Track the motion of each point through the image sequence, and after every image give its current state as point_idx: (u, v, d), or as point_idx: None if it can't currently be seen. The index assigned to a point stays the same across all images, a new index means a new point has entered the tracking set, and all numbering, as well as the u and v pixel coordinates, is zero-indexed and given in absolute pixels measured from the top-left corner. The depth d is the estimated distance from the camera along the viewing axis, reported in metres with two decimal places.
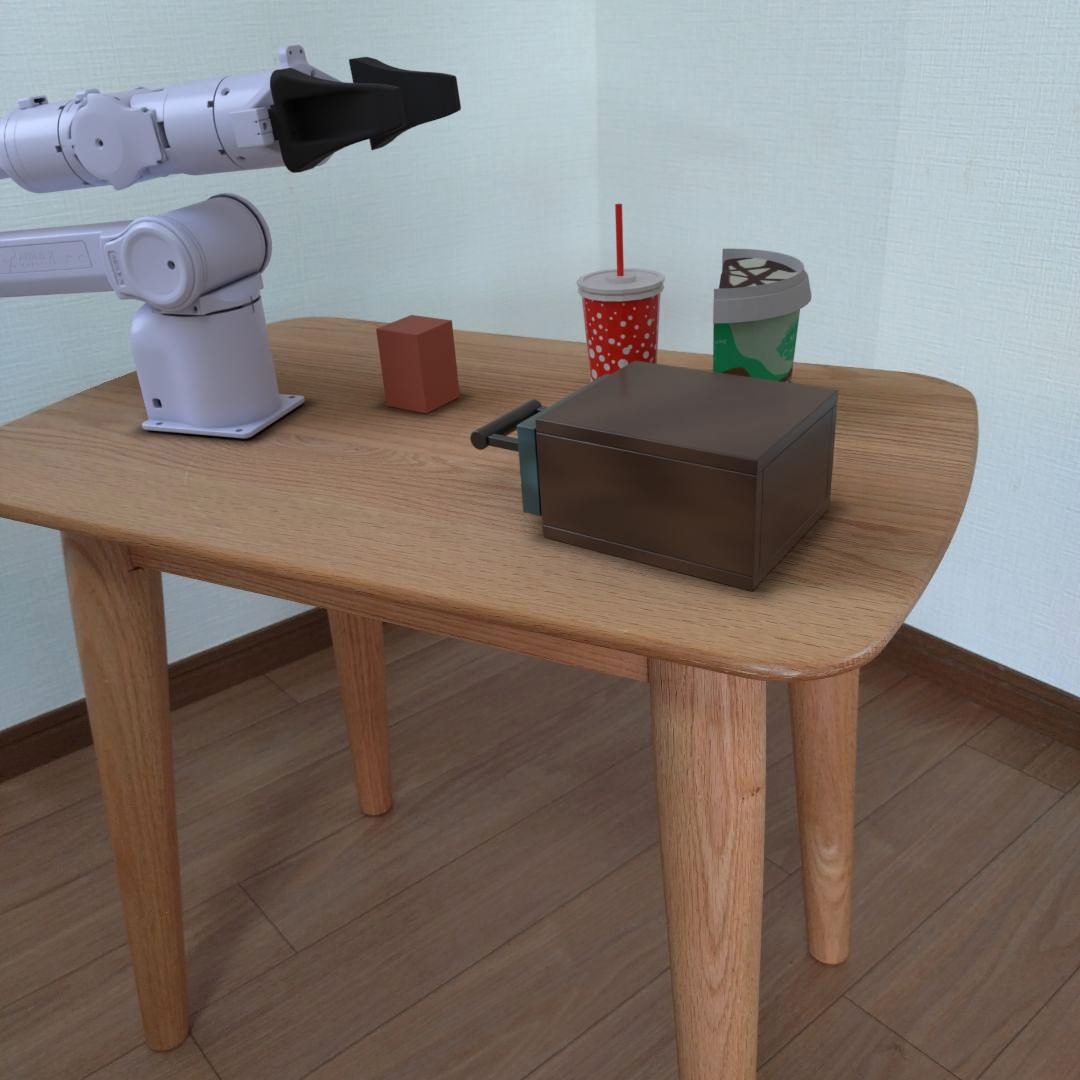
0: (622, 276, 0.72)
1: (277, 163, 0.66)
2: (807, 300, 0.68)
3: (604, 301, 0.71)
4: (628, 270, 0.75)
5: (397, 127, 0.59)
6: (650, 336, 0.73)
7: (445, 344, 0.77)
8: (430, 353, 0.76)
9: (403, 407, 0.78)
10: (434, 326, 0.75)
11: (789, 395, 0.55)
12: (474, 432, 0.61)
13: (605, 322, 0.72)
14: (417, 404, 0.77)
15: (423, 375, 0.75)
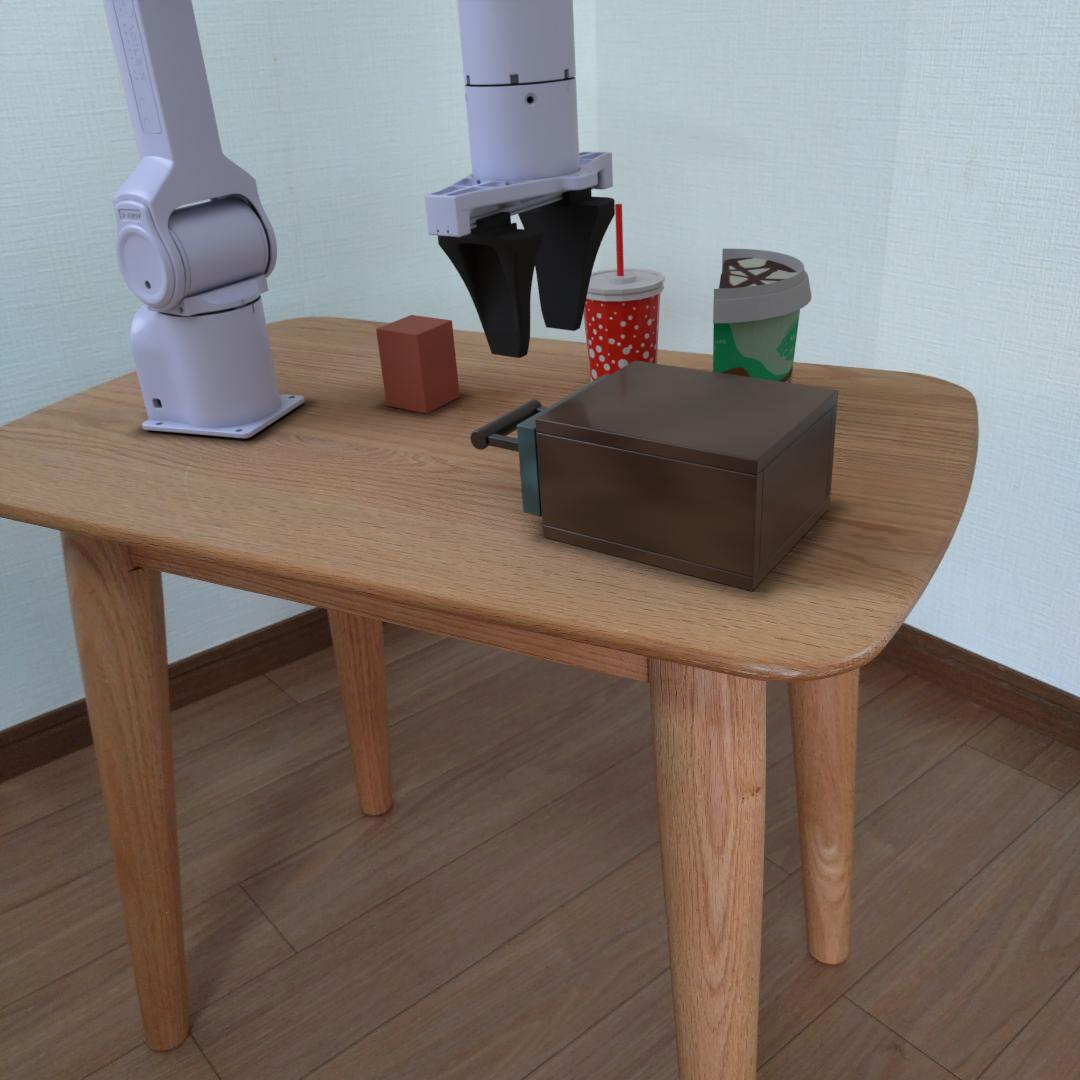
0: (622, 276, 0.72)
1: None
2: (807, 300, 0.68)
3: (604, 301, 0.71)
4: (628, 270, 0.75)
5: (490, 348, 0.57)
6: (650, 336, 0.73)
7: (445, 344, 0.77)
8: (430, 353, 0.76)
9: (403, 407, 0.78)
10: (434, 326, 0.75)
11: (789, 395, 0.55)
12: (474, 432, 0.61)
13: (605, 322, 0.72)
14: (417, 404, 0.77)
15: (423, 375, 0.75)
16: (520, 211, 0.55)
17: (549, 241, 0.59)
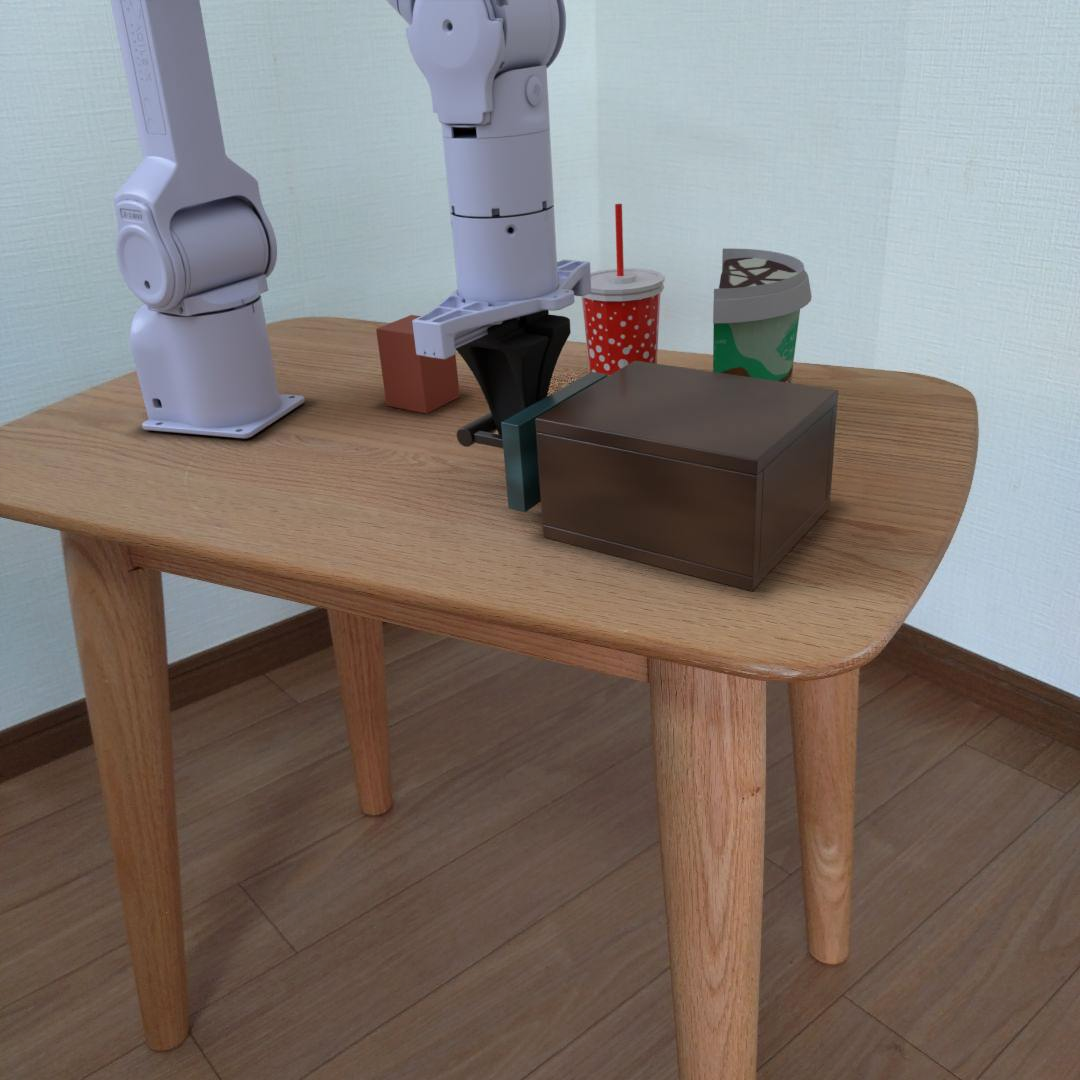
0: (622, 276, 0.72)
1: None
2: (807, 300, 0.68)
3: (604, 301, 0.71)
4: (628, 270, 0.75)
5: None
6: (650, 336, 0.73)
7: None
8: None
9: (403, 407, 0.78)
10: None
11: (789, 395, 0.55)
12: (460, 429, 0.61)
13: (605, 322, 0.72)
14: (417, 404, 0.77)
15: (423, 375, 0.75)
16: None
17: None
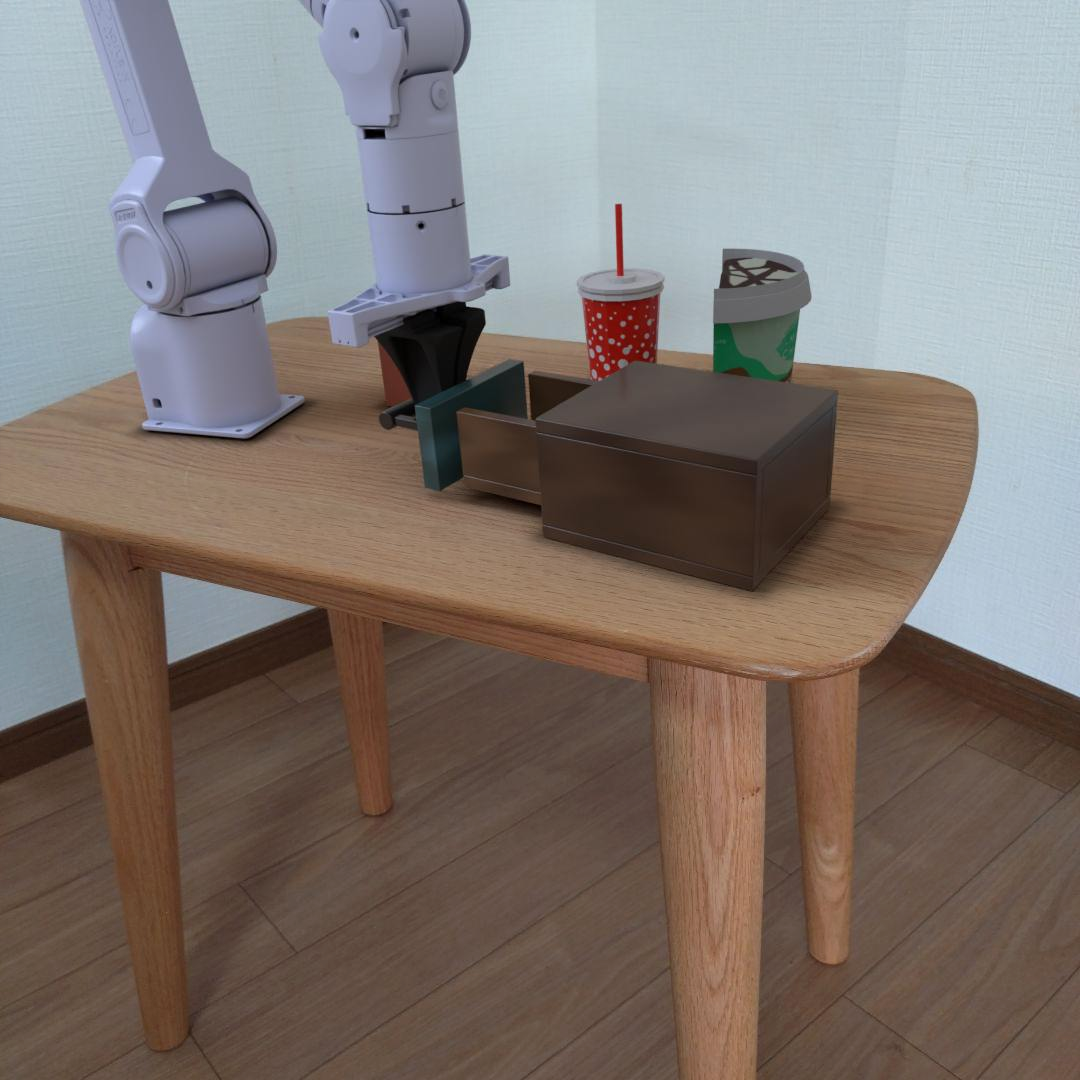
0: (622, 276, 0.72)
1: None
2: (807, 300, 0.68)
3: (604, 301, 0.71)
4: (628, 270, 0.75)
5: None
6: (650, 336, 0.73)
7: None
8: None
9: None
10: None
11: (789, 395, 0.55)
12: (382, 413, 0.65)
13: (605, 322, 0.72)
14: None
15: None
16: None
17: None
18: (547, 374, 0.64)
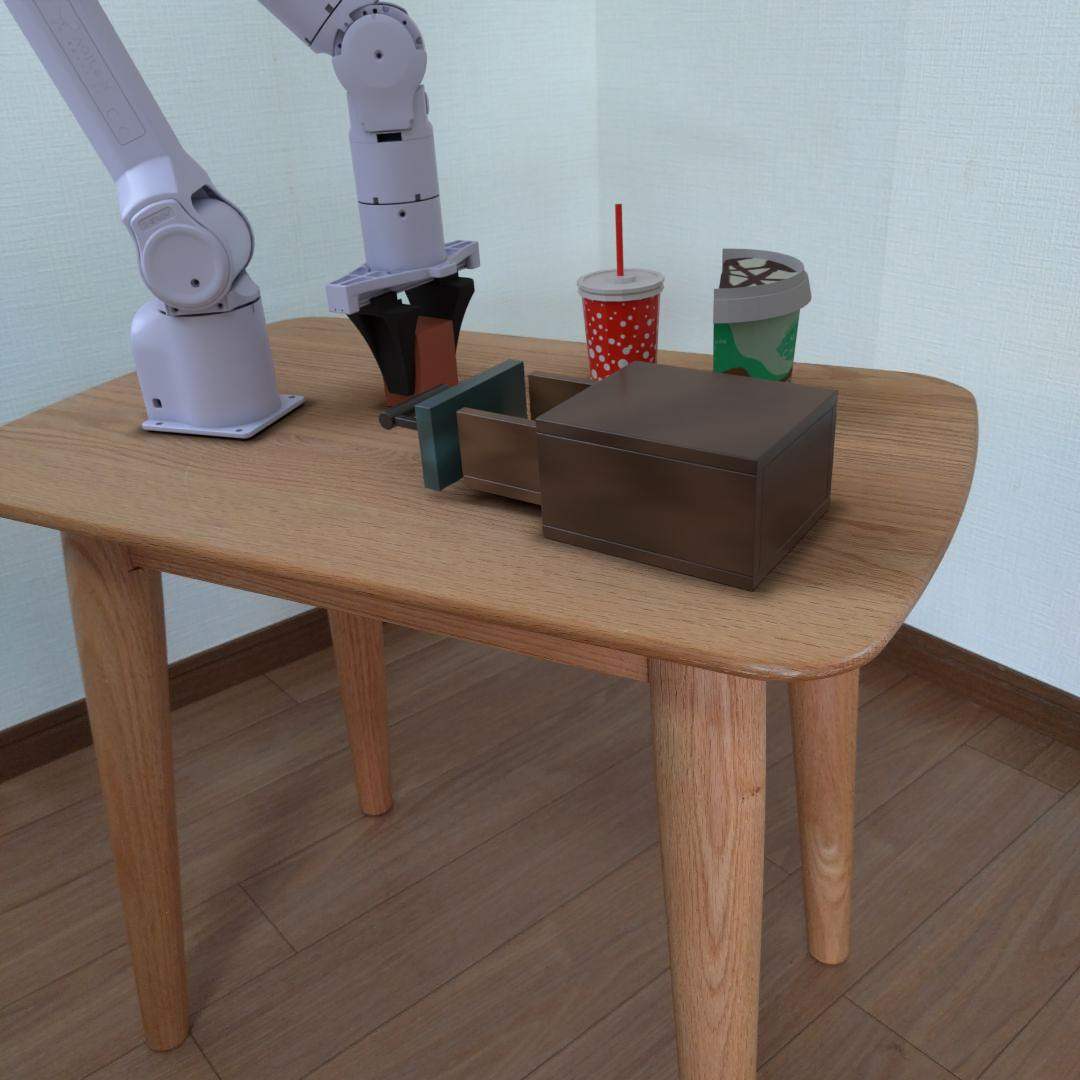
0: (622, 276, 0.72)
1: None
2: (807, 300, 0.68)
3: (604, 301, 0.71)
4: (628, 270, 0.75)
5: None
6: (650, 336, 0.73)
7: (445, 344, 0.77)
8: (430, 353, 0.76)
9: None
10: (434, 326, 0.75)
11: (789, 395, 0.55)
12: (381, 413, 0.65)
13: (605, 322, 0.72)
14: None
15: (423, 375, 0.76)
16: (401, 290, 0.74)
17: (426, 310, 0.78)
18: (547, 374, 0.64)
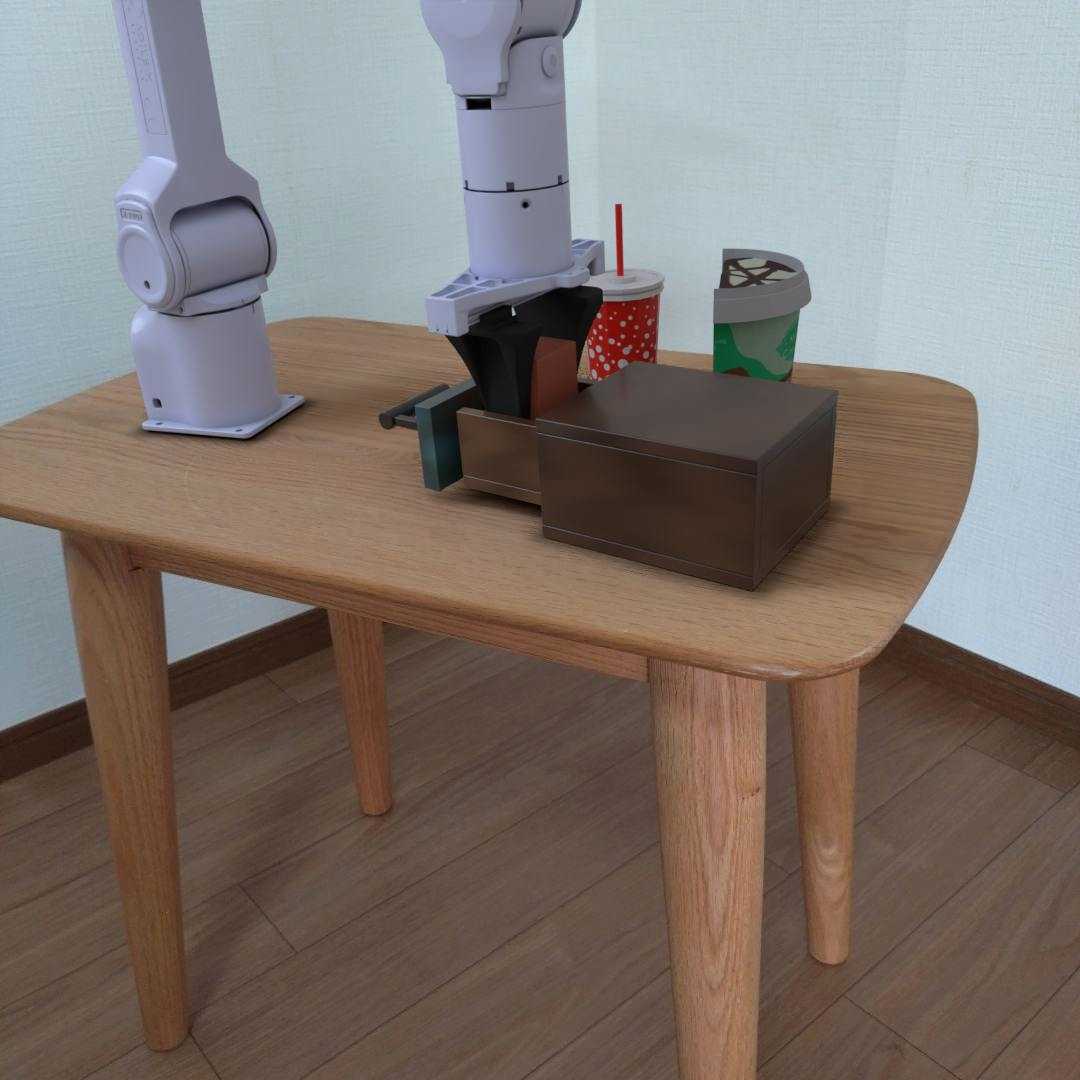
0: (622, 276, 0.72)
1: None
2: (807, 300, 0.68)
3: (604, 301, 0.71)
4: (628, 270, 0.75)
5: None
6: (650, 336, 0.73)
7: (567, 372, 0.60)
8: (550, 383, 0.59)
9: None
10: (555, 350, 0.59)
11: (789, 395, 0.55)
12: (381, 413, 0.65)
13: (605, 322, 0.72)
14: None
15: (542, 412, 0.59)
16: (516, 304, 0.57)
17: None
18: None
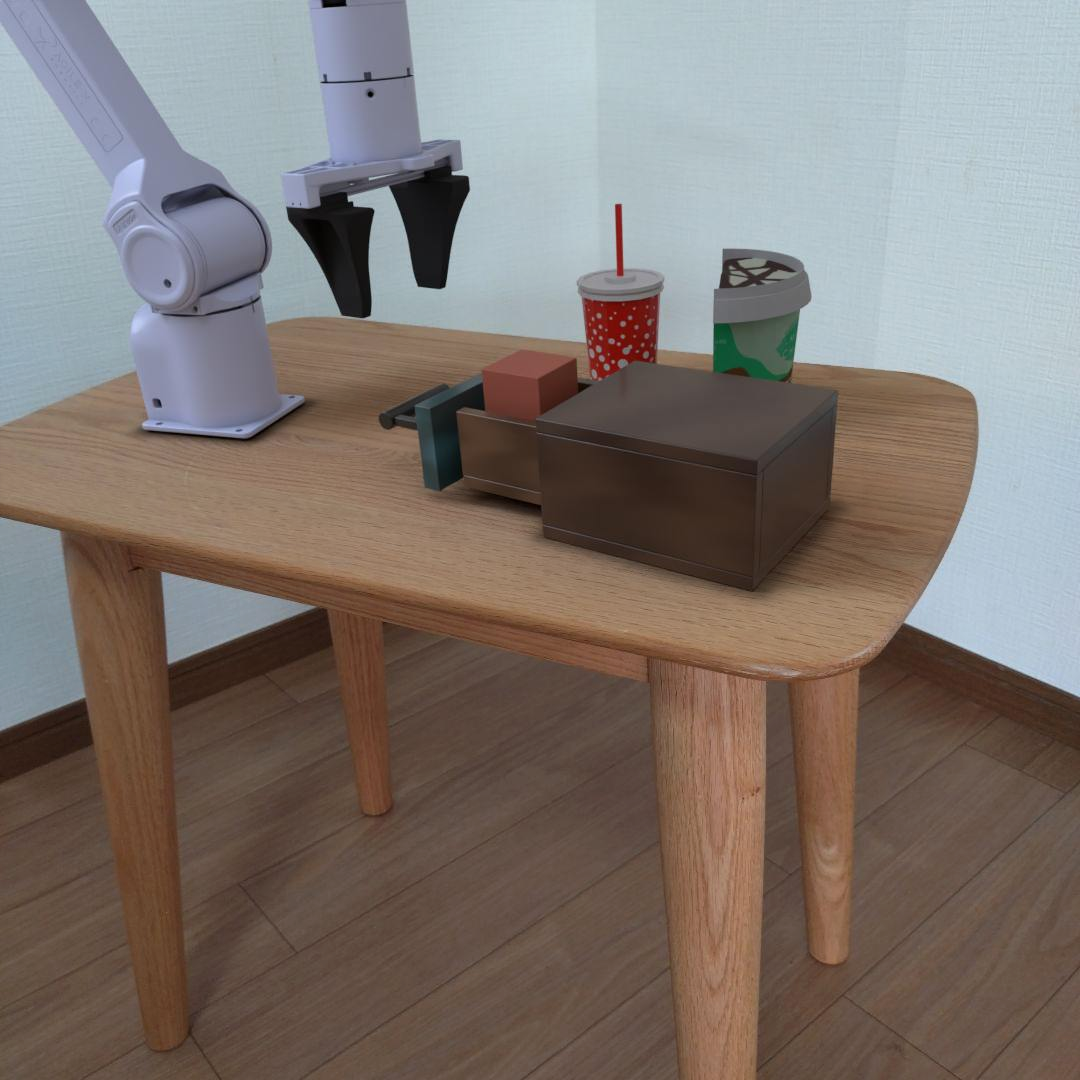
0: (622, 276, 0.72)
1: None
2: (807, 300, 0.68)
3: (604, 301, 0.71)
4: (628, 270, 0.75)
5: None
6: (650, 336, 0.73)
7: (568, 388, 0.61)
8: (551, 400, 0.59)
9: None
10: (556, 366, 0.59)
11: (789, 395, 0.55)
12: (381, 413, 0.65)
13: (605, 322, 0.72)
14: None
15: None
16: (371, 189, 0.65)
17: (416, 212, 0.70)
18: None
